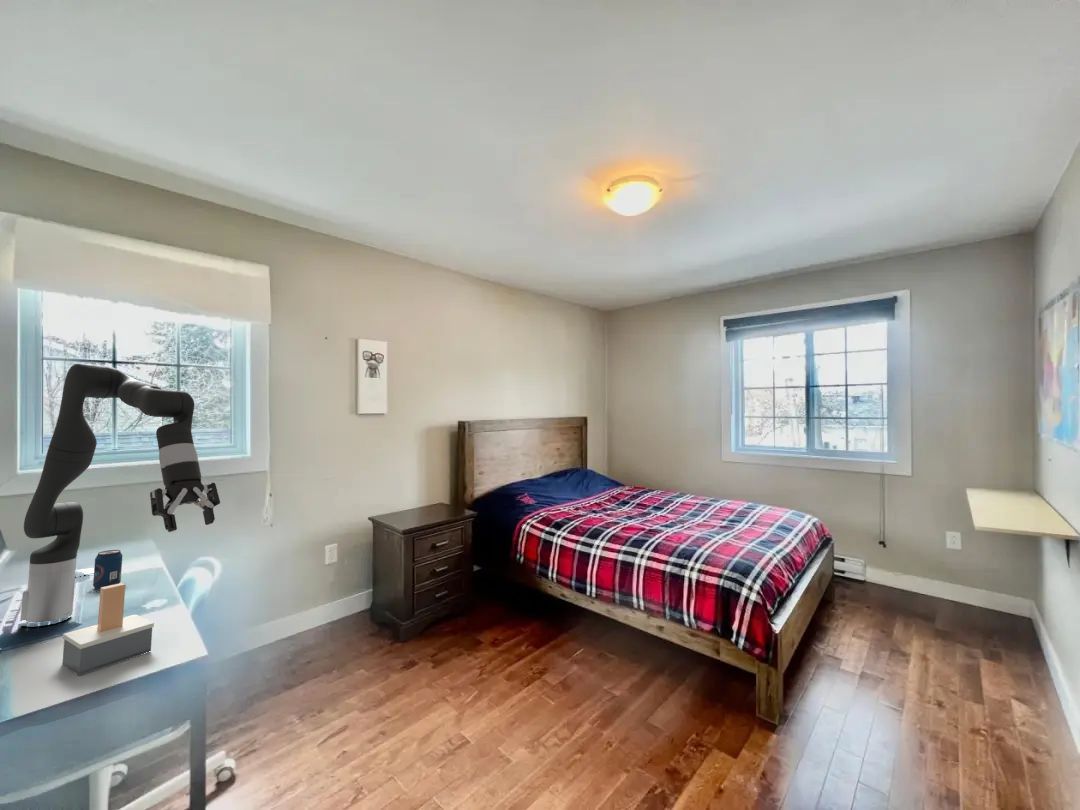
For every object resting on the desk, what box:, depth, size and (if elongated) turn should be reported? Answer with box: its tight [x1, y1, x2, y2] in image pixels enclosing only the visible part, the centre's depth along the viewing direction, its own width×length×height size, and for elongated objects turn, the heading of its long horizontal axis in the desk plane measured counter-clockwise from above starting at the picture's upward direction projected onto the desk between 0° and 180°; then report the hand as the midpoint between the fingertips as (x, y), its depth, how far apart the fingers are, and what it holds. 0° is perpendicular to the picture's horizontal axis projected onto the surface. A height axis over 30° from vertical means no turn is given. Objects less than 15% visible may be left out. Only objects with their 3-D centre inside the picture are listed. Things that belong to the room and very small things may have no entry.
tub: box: [62, 627, 153, 677], centre depth 109 cm, size 13×10×6 cm
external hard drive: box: [76, 567, 94, 574], centre depth 170 cm, size 2×8×12 cm
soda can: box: [92, 549, 123, 591], centre depth 157 cm, size 7×7×12 cm
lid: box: [62, 582, 155, 649], centre depth 110 cm, size 13×10×12 cm
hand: (191, 527), depth 111 cm, fingers open, 8 cm apart
